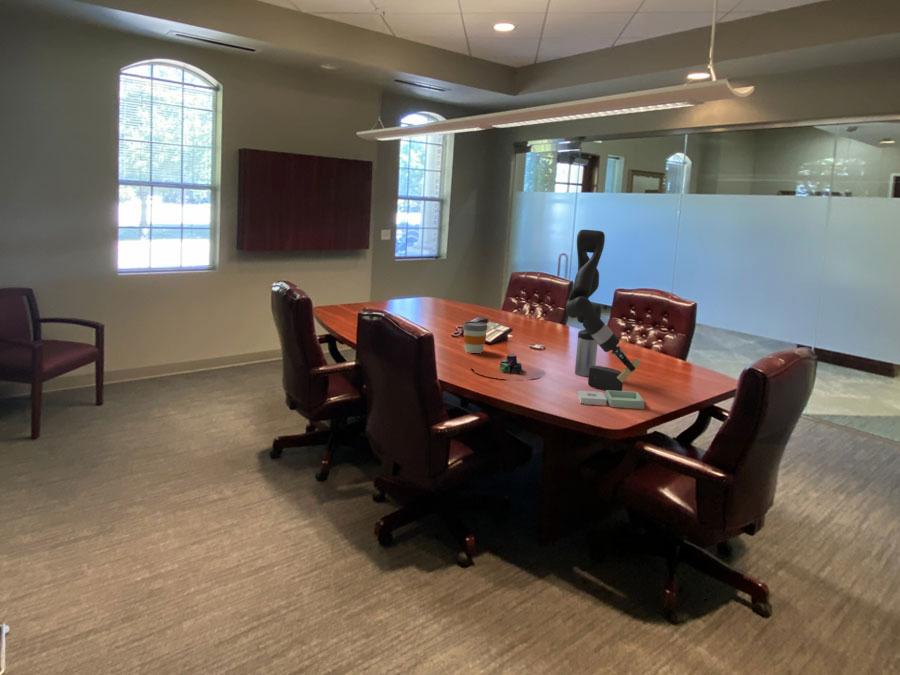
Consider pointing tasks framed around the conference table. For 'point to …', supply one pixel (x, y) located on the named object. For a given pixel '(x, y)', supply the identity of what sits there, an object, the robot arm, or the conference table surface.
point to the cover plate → (592, 397)
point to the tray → (624, 399)
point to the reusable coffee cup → (474, 336)
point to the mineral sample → (511, 365)
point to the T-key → (626, 371)
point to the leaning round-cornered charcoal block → (604, 378)
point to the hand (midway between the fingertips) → (632, 369)
